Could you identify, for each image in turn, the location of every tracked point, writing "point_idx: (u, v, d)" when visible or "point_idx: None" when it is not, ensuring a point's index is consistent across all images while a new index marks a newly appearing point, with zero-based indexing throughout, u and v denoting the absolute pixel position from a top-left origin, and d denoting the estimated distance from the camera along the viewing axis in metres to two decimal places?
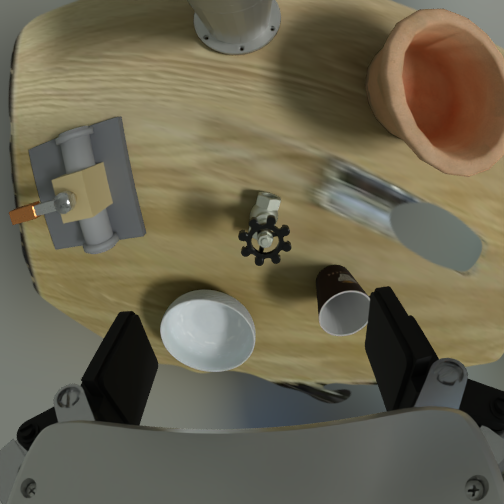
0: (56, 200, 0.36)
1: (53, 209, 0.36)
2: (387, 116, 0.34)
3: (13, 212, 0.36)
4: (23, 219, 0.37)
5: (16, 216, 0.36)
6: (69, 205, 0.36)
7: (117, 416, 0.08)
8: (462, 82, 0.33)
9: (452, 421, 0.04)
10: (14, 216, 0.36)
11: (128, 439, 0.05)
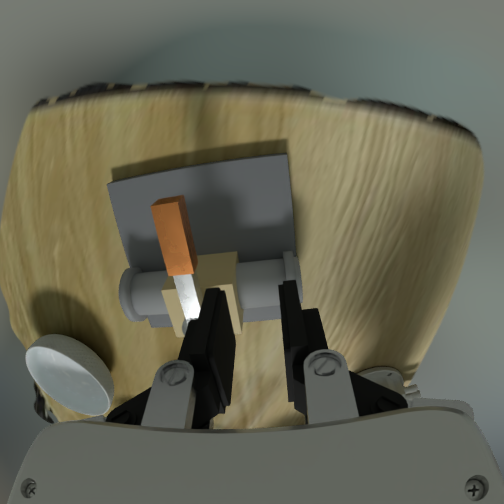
0: None
1: (187, 314, 0.26)
2: None
3: (177, 217, 0.22)
4: (164, 244, 0.23)
5: (169, 224, 0.22)
6: None
7: (217, 391, 0.09)
8: None
9: (452, 421, 0.04)
10: (169, 218, 0.22)
11: (128, 439, 0.05)
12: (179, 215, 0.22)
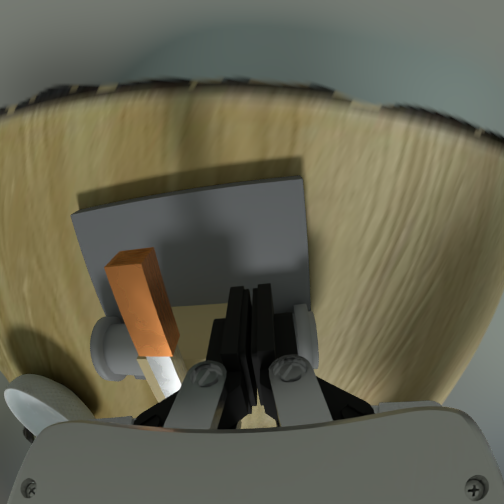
0: None
1: None
2: None
3: (142, 285, 0.15)
4: (128, 318, 0.15)
5: (132, 294, 0.15)
6: None
7: (246, 391, 0.09)
8: None
9: (452, 421, 0.04)
10: (131, 285, 0.15)
11: (128, 439, 0.05)
12: (145, 282, 0.14)
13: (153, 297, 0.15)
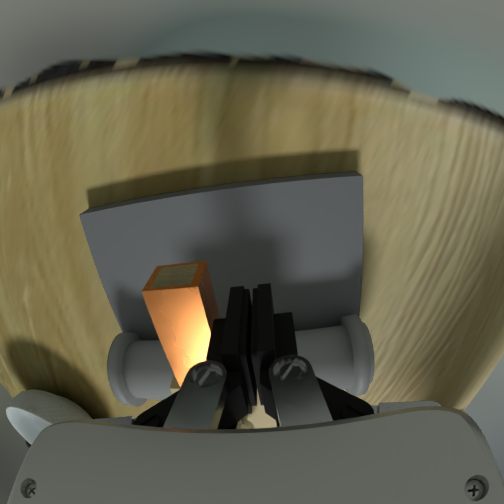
0: None
1: None
2: None
3: (198, 314, 0.11)
4: (173, 353, 0.12)
5: (181, 325, 0.11)
6: None
7: (246, 391, 0.09)
8: None
9: (452, 421, 0.04)
10: (180, 314, 0.11)
11: (128, 439, 0.05)
12: (202, 311, 0.11)
13: (210, 328, 0.12)
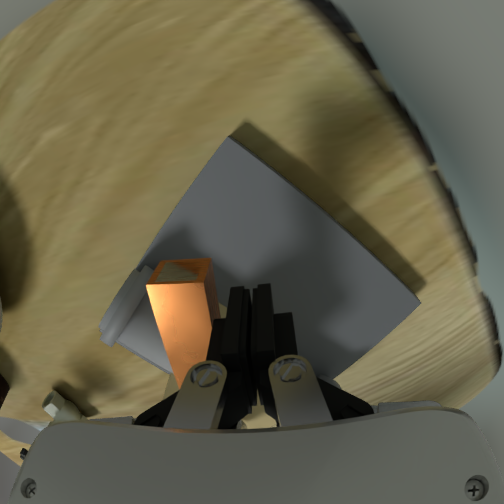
0: None
1: None
2: None
3: (201, 310, 0.11)
4: (173, 349, 0.12)
5: (183, 320, 0.11)
6: None
7: (246, 392, 0.09)
8: None
9: (452, 421, 0.04)
10: (183, 310, 0.11)
11: (128, 439, 0.05)
12: (205, 307, 0.11)
13: (212, 325, 0.12)
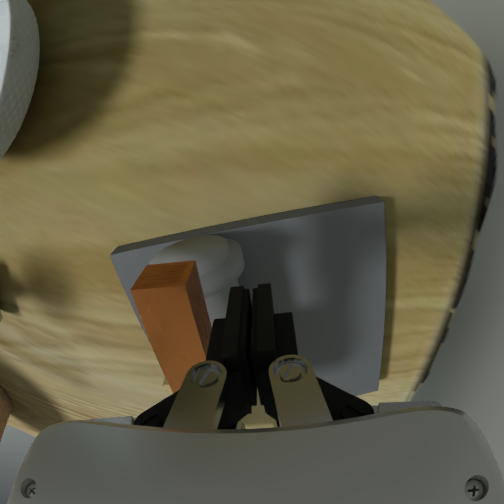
0: None
1: None
2: None
3: (185, 313, 0.11)
4: (162, 352, 0.12)
5: (169, 323, 0.11)
6: None
7: (246, 391, 0.09)
8: None
9: (452, 421, 0.04)
10: (168, 313, 0.11)
11: (128, 439, 0.05)
12: (189, 310, 0.11)
13: (198, 327, 0.12)
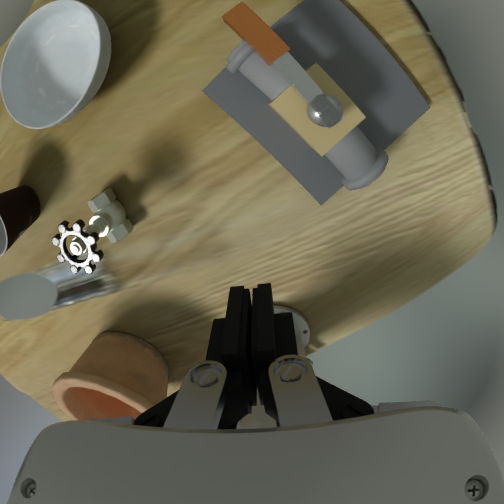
0: (325, 98, 0.23)
1: (307, 96, 0.23)
2: (118, 360, 0.44)
3: (249, 11, 0.19)
4: (250, 37, 0.20)
5: (245, 20, 0.19)
6: (330, 125, 0.24)
7: (246, 391, 0.09)
8: None
9: (452, 421, 0.04)
10: (242, 16, 0.19)
11: (128, 439, 0.05)
12: (250, 9, 0.19)
13: (258, 17, 0.19)
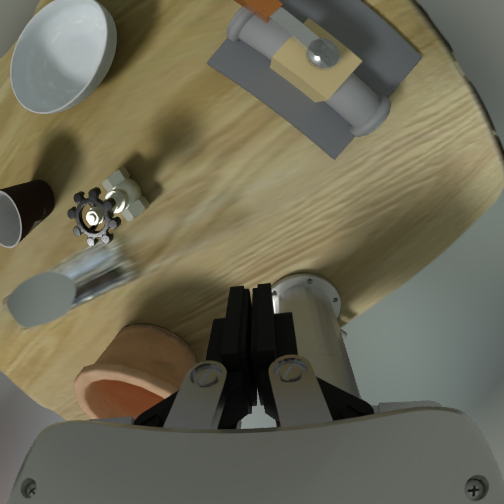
0: (321, 42, 0.22)
1: (305, 42, 0.22)
2: (142, 349, 0.43)
3: None
4: None
5: None
6: (331, 65, 0.23)
7: (246, 392, 0.09)
8: (143, 396, 0.53)
9: (452, 421, 0.04)
10: None
11: (128, 439, 0.05)
12: None
13: None
